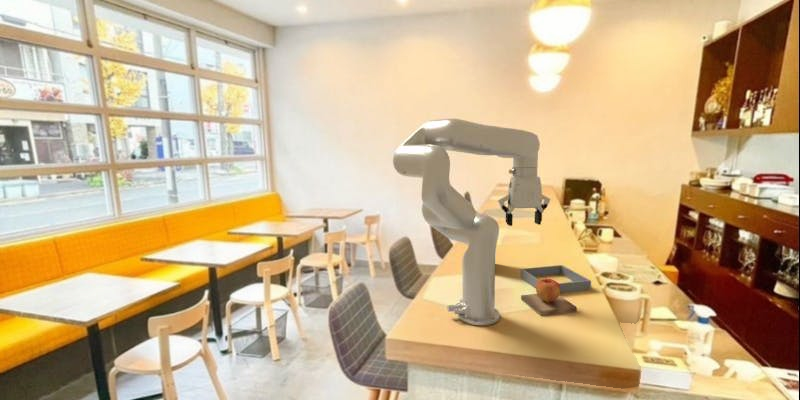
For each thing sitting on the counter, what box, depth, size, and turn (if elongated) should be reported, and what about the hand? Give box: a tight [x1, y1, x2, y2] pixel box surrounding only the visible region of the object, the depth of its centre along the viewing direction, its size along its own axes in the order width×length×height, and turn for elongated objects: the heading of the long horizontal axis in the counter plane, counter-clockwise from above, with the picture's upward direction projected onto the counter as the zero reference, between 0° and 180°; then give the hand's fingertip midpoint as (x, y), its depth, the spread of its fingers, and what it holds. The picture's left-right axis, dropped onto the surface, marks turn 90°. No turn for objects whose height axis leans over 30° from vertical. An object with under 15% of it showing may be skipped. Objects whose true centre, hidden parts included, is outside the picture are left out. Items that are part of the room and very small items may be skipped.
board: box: [520, 293, 577, 317], centre depth 121 cm, size 12×12×2 cm
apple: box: [535, 275, 561, 303], centre depth 120 cm, size 7×7×8 cm
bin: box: [520, 264, 592, 295], centre depth 138 cm, size 17×17×4 cm
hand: (523, 224), depth 125 cm, fingers open, 9 cm apart
